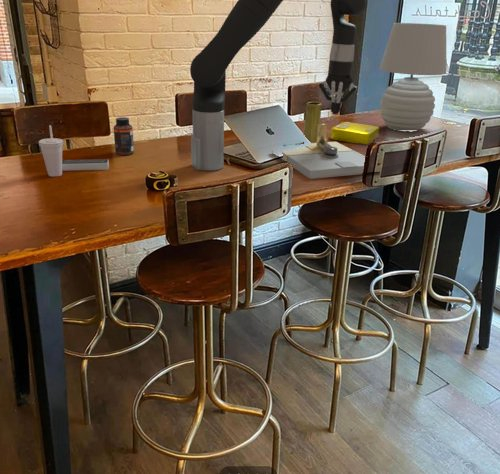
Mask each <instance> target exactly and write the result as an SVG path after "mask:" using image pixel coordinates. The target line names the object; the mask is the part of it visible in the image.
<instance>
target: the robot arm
mask: <svg viewBox="0 0 500 474" xmlns="http://www.w3.org/2000/svg"><path fill="white" fill-rule="evenodd" d="M283 2H284V0H237V2H236V3H235V5H234V6H233V7H232V8H231V10H230V11H229V14H228V15H227V17H226V18H225V20H224V22H223V24H222V25H221V27H220V28H219V30H218V32H217V33H215V35H214V37H213V38H212V39H211V40H210V42H209V43H207V45H206V46H204V48H203V49H202V50H200V52H199V53H198V54H197V55H195V57H194V58H193V59H192V61H191V64H190V68H189V73H190V77H191V79H192V81H193V95H192V100H191V101H192V102H191V103H192V108H191V109H192V133H191V134H190V156H191V157H190V161H191V162H190V163H191V166H192V167H193V168H194V169H195V170H196V171H208V172H209V171H210V172H211V171H217V170H218V171H219V170H221V169H223V168H224V165H225V164H224V163H225V162H224V160H225V157H224V156H225V154H224V153H225V151H224V150H225V149H224V147H225V100H226V79H227V78H226V76H227V75H226V73H227V72H226V71H227V69H228V67H229V66H230V64H231V63H232V61H233V59H234V58H235V57H236V55H237V54H238V53H239V52H240V51H241V49H243V47H244V46H246V44H248V43H249V42H250V41H251V40H252V39H253V38H254V37H255V36H256V34H257V33H259V31H260V30H261V29H262V28H263V27H264V26H265V25H266V23H267V22H268V21H269V19H270V18H271V17H272V16H273V15H274V13H275V12H276V11H277V9H278V8H279V7H280V5H281V4H282V3H283ZM366 6H367V0H330V11H331V19H332V26H333V32H332V40H331V41H332V42H331V47H330V52H329V56H328V57H329V60H328V61H329V62H328V71H327V76H326V78H325V80H324V81H323V82H321V83H319V85H318V87H319V88H320V90H321V92H322V94H323V95H324V97H325V99H326V101H330V102H331V105H330V112H331V113H332V115H335V116H336V115H338V114H339V113H340V112H341V109H342V103H345V102H347V101H348V100H349V99H350V98H351V97H352V96H353V94H354V93H356V91H358V89H359V87H358V86H356V85H355V84H354V83H353V79H352V73H353V67H354V58H355V47H356V45H355V44H356V38H357V27H356V25H355V24H353V23H350V22H348V21H347V20H346V18H345V15H346V16H360V14H362V13H364V11H365V9H366ZM328 88H329V89H330V91H331V93H330V91H329V89H328ZM347 89H348V90H349V92H347V94H345V95H344V92H346V91H347ZM343 96H344V97H343Z"/></svg>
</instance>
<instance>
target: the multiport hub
mask: <svg viewBox="0 0 500 474" xmlns="http://www.w3.org/2000/svg"><path fill="white" fill-rule="evenodd" d="M109 168H110V161H109V159H108V158H103V159H102V158H101V159H98V158H97V159H96V158H95V159H92V158H91V159H62V172H64V171H65V172H66V171H99V170H100V171H101V170H103V171H105V170H109Z"/></svg>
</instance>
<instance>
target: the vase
mask: <svg viewBox="0 0 500 474" xmlns="http://www.w3.org/2000/svg"><path fill="white" fill-rule="evenodd" d="M322 106H323V105H322V103H321V102H319V101H309V102H306V106H305V109H306V110H305V120H304V126H303V127H304V129H303V136H304V135H305V137H306V138H307V139H308V140H309V141H310V142H311V143H317V131H318V124H320V123H321V117H322Z"/></svg>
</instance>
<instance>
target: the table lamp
mask: <svg viewBox="0 0 500 474" xmlns="http://www.w3.org/2000/svg"><path fill="white" fill-rule="evenodd" d="M379 70H380V71H383V72H386V73H393V74H402V75H410V76H406V77H403V78H402V79H398V80H397V81H395V82H393V83H392V84H391V85H389V86H388V87H387V88H386V89H385V91H384V92H383V93H382V94H381V100H380V102H379V105H380V106H379V111H380V116H381V119H382V120H383V123H384V124H385V125H386V126H387V127H388V128H389V129H390V128H391V129H390V130H392V129H395V130H418V129H419V130H421V129H423V128H424V127H425V126H426V124H428V123H429V122H430V121H431V117H432V116H433V115H434V112H435V111H434V109H435V107H436V105H435V101H436V98H435V96H434V95H433V94H434V92H433V90H432V89H430V86H429V85H428V84H427V83H424V81H422V80H420V79H419V78H418V77H414V75H415V76H442V75H445V74H447V25H445V24H436V23H435V24H434V23H432V24H431V23H415V22H393V25H392V27H391V31H390V34H389V37H388V41H387V44H386V47H385V50H384V53H383V56H382V60H381V63H380V66H379ZM395 130H394V131H395ZM419 130H418V131H419Z"/></svg>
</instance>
